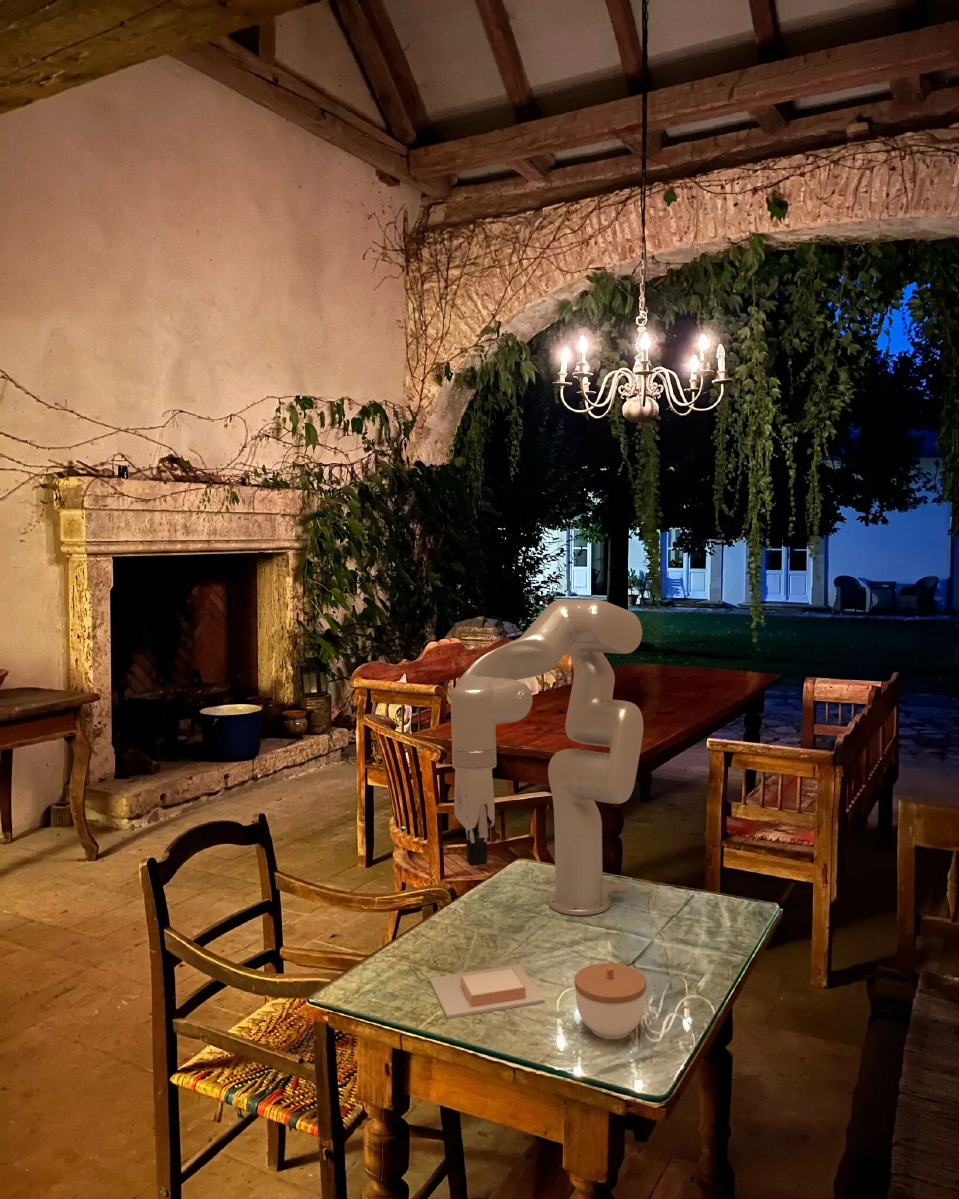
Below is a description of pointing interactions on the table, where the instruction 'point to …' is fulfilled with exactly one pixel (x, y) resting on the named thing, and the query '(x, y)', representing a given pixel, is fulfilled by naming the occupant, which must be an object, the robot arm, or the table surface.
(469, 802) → the robot arm
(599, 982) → the lidded jar
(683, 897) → the table surface
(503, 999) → the block
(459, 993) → the mat
